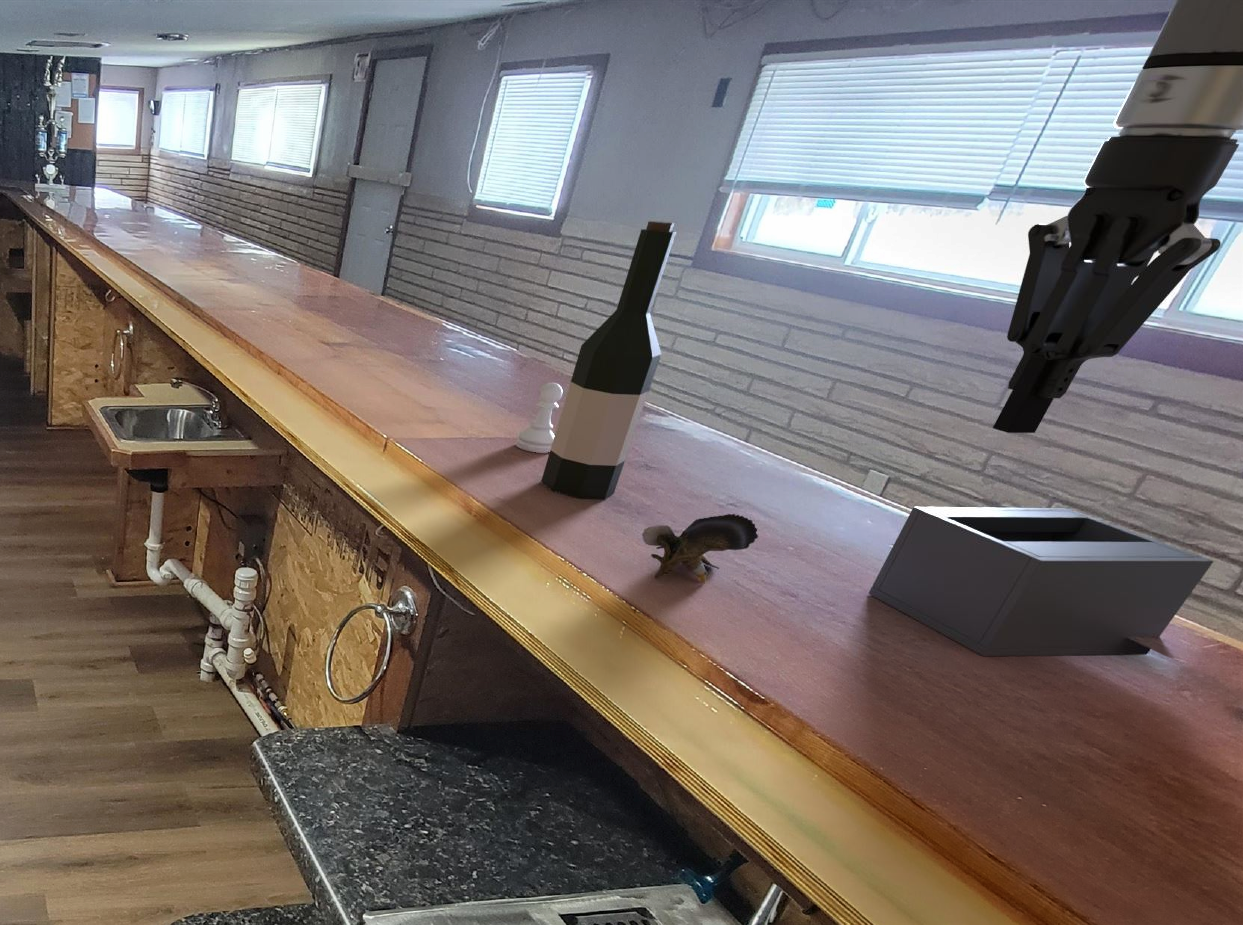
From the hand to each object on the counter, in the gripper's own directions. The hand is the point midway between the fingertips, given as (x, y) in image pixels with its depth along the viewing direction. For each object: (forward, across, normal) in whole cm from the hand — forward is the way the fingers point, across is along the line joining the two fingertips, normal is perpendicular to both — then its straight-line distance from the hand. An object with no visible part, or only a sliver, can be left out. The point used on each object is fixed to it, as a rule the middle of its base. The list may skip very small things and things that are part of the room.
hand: (1013, 430), depth 83 cm
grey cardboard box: (+11, +2, 0) cm, 11 cm away
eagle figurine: (+16, -3, -24) cm, 29 cm away
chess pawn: (+16, -44, -18) cm, 50 cm away
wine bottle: (+16, -28, -21) cm, 38 cm away
